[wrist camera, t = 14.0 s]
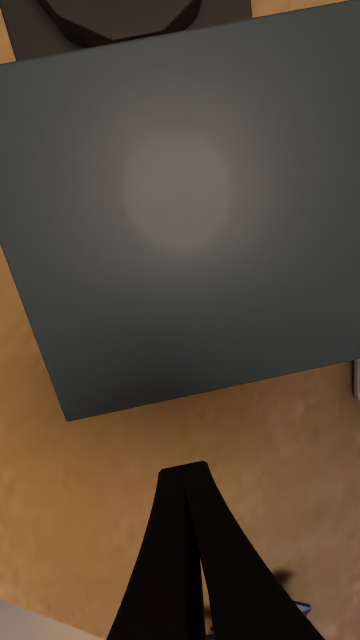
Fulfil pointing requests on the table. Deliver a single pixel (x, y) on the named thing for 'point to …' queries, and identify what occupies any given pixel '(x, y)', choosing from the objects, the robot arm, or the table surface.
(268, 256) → the lid
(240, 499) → the table surface
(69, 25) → the switch block
